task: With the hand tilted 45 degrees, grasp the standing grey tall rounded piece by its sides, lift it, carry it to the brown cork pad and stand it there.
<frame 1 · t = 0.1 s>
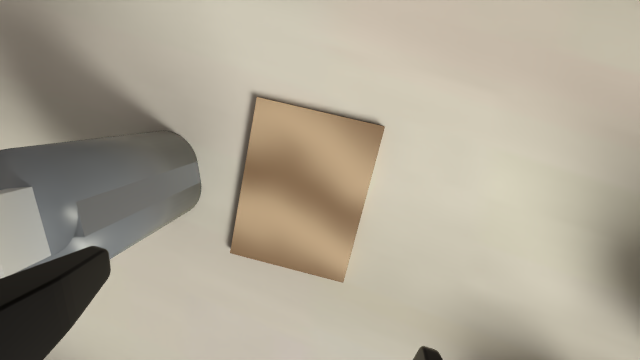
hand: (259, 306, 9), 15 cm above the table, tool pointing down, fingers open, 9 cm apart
grey tall rounded piece: (168, 174, 25), on the table
cork pad: (303, 192, 24), on the table
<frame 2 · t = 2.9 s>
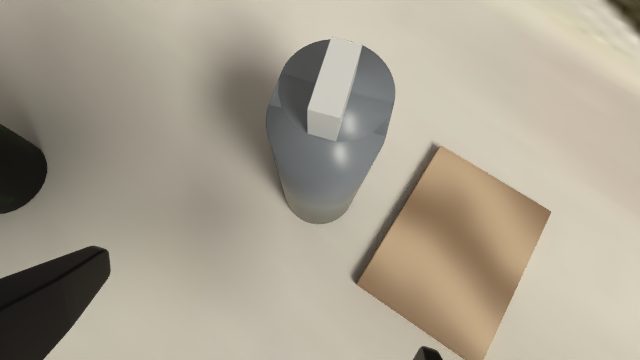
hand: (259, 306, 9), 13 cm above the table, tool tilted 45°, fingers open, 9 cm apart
cup: (8, 177, 24), on the table
grey tall rounded piece: (321, 180, 24), on the table
cork pad: (454, 247, 23), on the table
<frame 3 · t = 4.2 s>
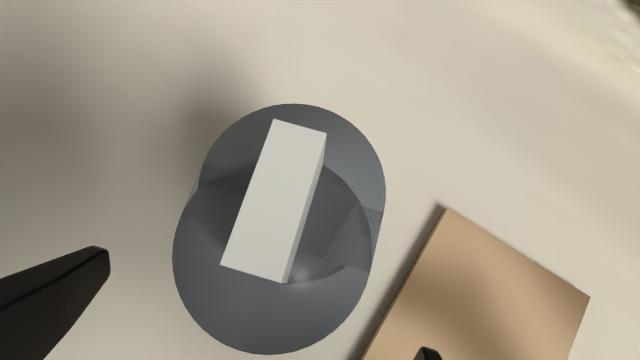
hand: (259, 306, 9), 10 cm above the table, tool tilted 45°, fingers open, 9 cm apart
grey tall rounded piece: (296, 253, 19), on the table
cork pad: (466, 344, 18), on the table
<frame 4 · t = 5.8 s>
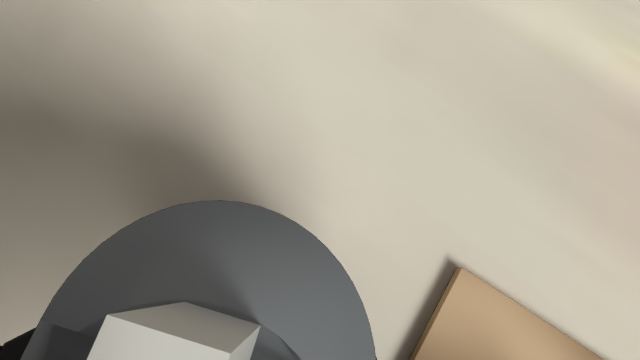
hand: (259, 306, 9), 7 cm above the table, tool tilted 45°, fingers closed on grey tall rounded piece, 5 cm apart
grey tall rounded piece: (269, 327, 15), on the table, touching gripper
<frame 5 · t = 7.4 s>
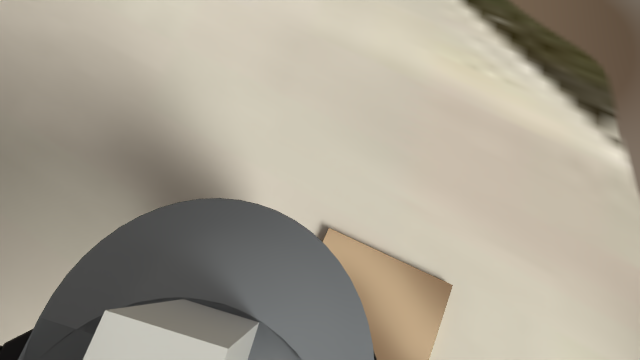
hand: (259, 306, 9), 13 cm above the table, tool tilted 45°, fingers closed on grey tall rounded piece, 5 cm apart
grey tall rounded piece: (269, 326, 15), point 7 cm above the table, touching gripper
cork pad: (353, 343, 21), on the table
when the fingers open (8 cm above the table, at t = 9.4 s): grey tall rounded piece drops 1 cm, resting on cork pad.
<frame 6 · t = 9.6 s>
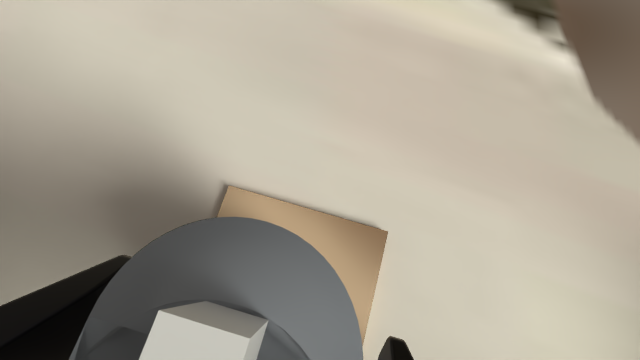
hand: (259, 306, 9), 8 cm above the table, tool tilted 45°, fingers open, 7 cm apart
grey tall rounded piece: (271, 324, 16), point 1 cm above the table, touching cork pad
cork pad: (273, 322, 17), on the table
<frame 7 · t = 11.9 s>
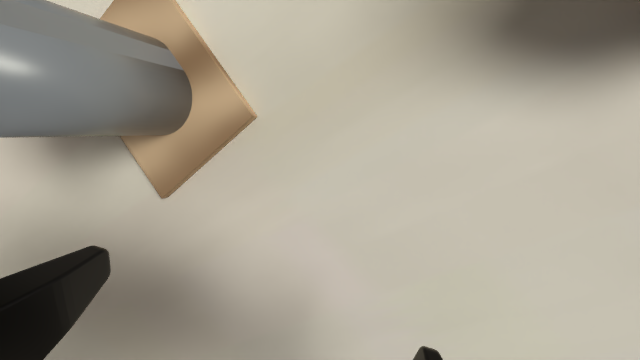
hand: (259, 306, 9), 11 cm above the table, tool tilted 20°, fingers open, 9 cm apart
grey tall rounded piece: (153, 86, 21), point 1 cm above the table, touching cork pad
cork pad: (159, 87, 22), on the table
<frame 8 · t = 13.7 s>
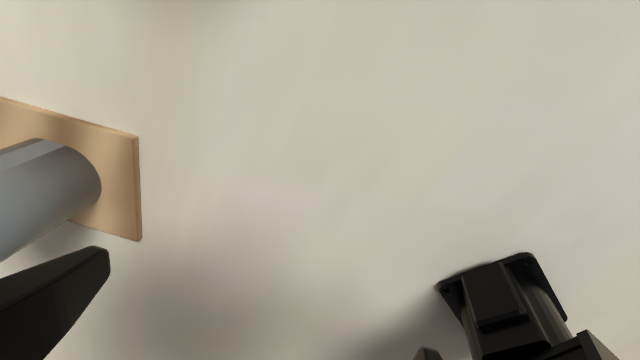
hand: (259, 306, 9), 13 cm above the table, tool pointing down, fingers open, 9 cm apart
grey tall rounded piece: (60, 172, 25), point 1 cm above the table, touching cork pad
cork pad: (66, 169, 25), on the table
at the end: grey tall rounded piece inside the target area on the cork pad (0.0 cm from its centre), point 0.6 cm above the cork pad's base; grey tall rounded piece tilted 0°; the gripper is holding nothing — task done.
